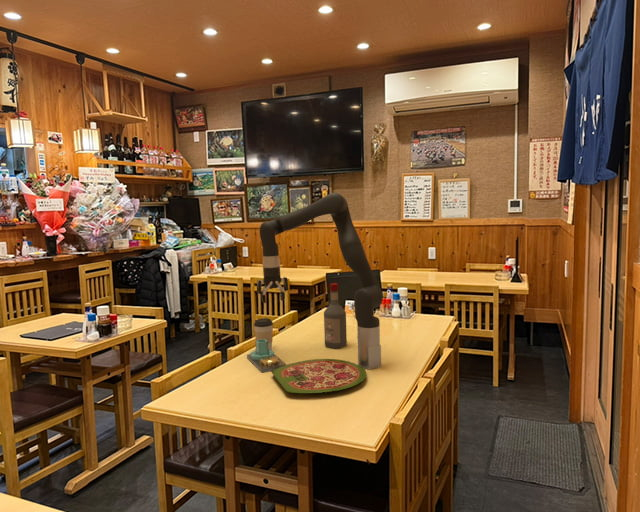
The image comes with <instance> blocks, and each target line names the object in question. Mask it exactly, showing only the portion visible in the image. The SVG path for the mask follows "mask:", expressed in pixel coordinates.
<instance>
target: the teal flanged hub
mask: <svg viewBox="0 0 640 512" xmlns="http://www.w3.org/2000/svg"><path fill="white" fill-rule="evenodd" d="M249 354H250V357H251V358H252V359H254V360H260V359H261V358H265V357H273V356H275V355H276V354H275V352H274V350H273V349H272V350H268V341H267V340H266V339H261V340H256V339H255V350H253V351H252V352H250V353H249Z"/></svg>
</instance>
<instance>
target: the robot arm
mask: <svg viewBox="0 0 640 512" xmlns="http://www.w3.org/2000/svg"><path fill="white" fill-rule="evenodd" d="M347 201H348V200H347V199H346V198H345V197H344V196H343V195H341V194H340V193H339V192H331V193H328V194H327V195H324V196H323V197H322V198H320V199H317V200H316V201H314V202H313V203H310V204H308V205H306V206H303V207H302V208H301V207H300V208H299V209H297V210H294V211H291V212H288V213H286V214H285V213H284V214H283V215H281V216H280V217H277V218H275V219H272V220H267V221H264V222H262V223H261V224H260V226H259V236H260V237H259V238H260V241H261V245H262V271H263V272H262V273H263V274H262V275H263V280H262V279H261V280H259V279H257V281H256V293H257V294H258V295H260V296H261V298H260V299H261V302H262V303H263V304H266V303H267V297H266V296H267V295H266V293H267V291H269V289H270V290H273V289H278V290H279V292H280V293H279V295H280V299H279V300H280V301H282V302H283V301H284V300H285V299H286V298H285V297H286V296H285V293H286V292H287V291H289V280H288V278H287V277H285V276H283V277H281V260H280V255H279V253H280V252H279V244H278V243H277V242H276V236H278V235H280V234H282V233H284V232H287V231H291V230H293V229H296V228H299V227H301V226H303V225H305V224H306V223H308V222H310V221H312V220H314V219H317V218H319V217H321V216H325V215H330V216H331V218H332V220H333V222H334V225H335V228H336V231H337V239H338V244H339V249H340V252H341V255H342V258H343V260H344V261H345V263H346V265H347V267H349V269H351V270H352V271H353V273H354V274H355V275H356V276H357V277H358V278H357V279H358V281H359V282H360V284H361V288H359V289H357V290H356V291H355V293H354V297H353V298H354V299H353V305H354V306H353V307H354V317H355V320H356V325H357V365H359V366H361V367H362V368H364V369H367V370H373V369H378V368H382V345H381V339H380V338H381V337H380V336H381V335H380V333H381V332H380V331H381V329H380V325H381V324H380V323H381V322H380V318H379V317H377V316H375V315H374V309H376V308H378V307H380V306H381V305H382V304H383V300H384V297H383V296H384V295H383V292H382V290H381V287H380V285H379V283H378V281H377V280H376V277H375V275H374V274H373V270H372V268H371V265H370V263H369V260H368V258H367V256H366V253H365V249H364V245H363V244H362V241H361V239H360V235H359V234H358V232H357V229H356V228H355V225H354V223H353V221H352V217H351V212H350V209H349V204H348V202H347ZM281 282H282V283H283V286H282V284H281ZM263 284H264V285H263ZM262 286H263V287H262Z"/></svg>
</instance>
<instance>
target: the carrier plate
mask: <svg viewBox="0 0 640 512" xmlns="http://www.w3.org/2000/svg"><path fill="white" fill-rule="evenodd" d="M275 357H276V358H279V357H278V356H277V354H275ZM246 359H248V361H249V362H250V363H252V365H253V366H255V368H256V369H258V370H259V372H260V371H261V372H263V373H267V372H272V371H273V370H274V369H277V368H279V367H282V366H285V365H287V363H285V362H284V361H283V360H282V359H281V358H279V361H280V362H279V364H276V365H274V366H264V365H260V360H254V359H252V358H251V357H250V353H249V354H246ZM261 372H260V373H261Z"/></svg>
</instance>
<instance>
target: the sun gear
mask: <svg viewBox="0 0 640 512" xmlns="http://www.w3.org/2000/svg"><path fill="white" fill-rule="evenodd" d="M279 359H280V357H278V358H276V357H275V356H273V357H265V358H261V359H260V365H264V366H274V365H276V364H279V362H280V361H279Z"/></svg>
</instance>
